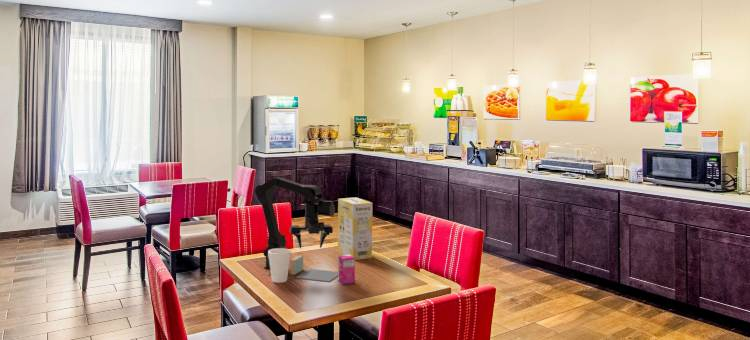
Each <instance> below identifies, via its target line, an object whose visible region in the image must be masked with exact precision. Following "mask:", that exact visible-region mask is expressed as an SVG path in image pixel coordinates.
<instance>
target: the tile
mask: <svg viewBox="0 0 750 340" xmlns="http://www.w3.org/2000/svg"><path fill="white" fill-rule="evenodd" d="M289 270H290V271H289V274H290V275H296V274H298V273H301V271H304V256H303V255H296V256H294V257H293V258H290V261H289Z"/></svg>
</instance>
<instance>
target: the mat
mask: <svg viewBox="0 0 750 340" xmlns="http://www.w3.org/2000/svg"><path fill="white" fill-rule="evenodd" d="M336 278H338V271H333V270H323V269H316V268H315V269H314V268H309V269H307V270H305V271H303V272H301V273H300V274H299V275H297V276H296V277H295V279H299V280H308V281H315V282H316V281H317V282H325V283H331V282H332V281H333V280H335V279H336Z"/></svg>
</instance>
